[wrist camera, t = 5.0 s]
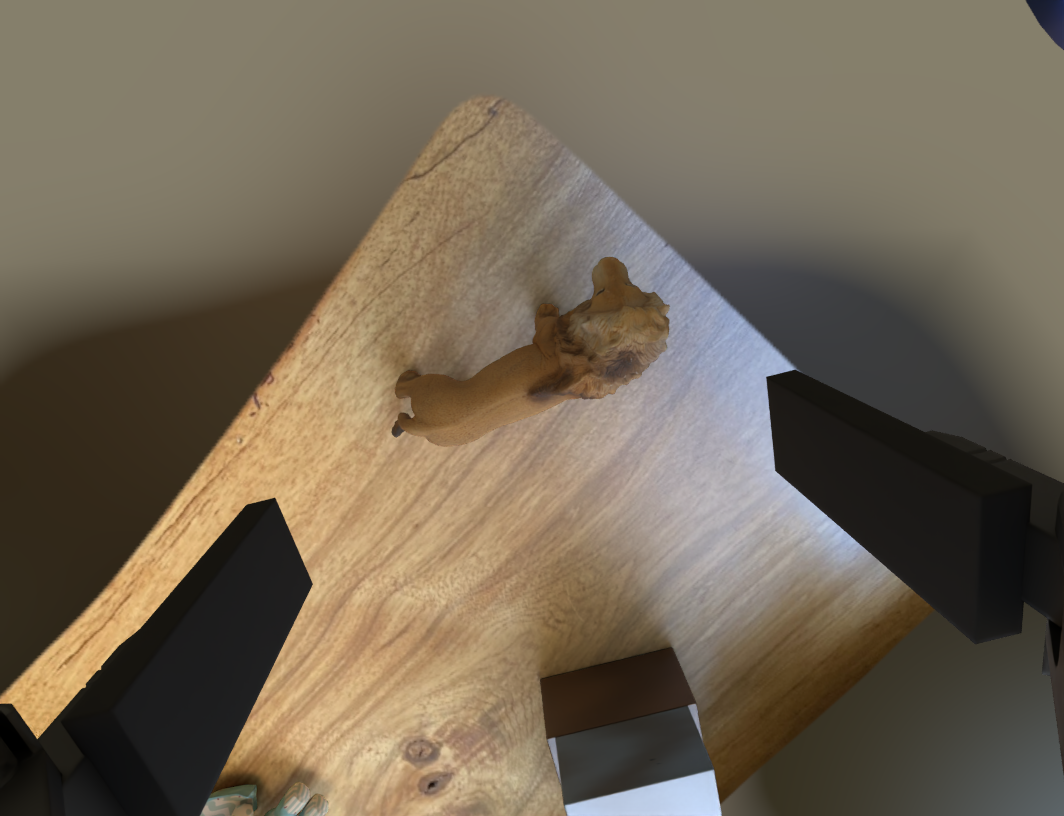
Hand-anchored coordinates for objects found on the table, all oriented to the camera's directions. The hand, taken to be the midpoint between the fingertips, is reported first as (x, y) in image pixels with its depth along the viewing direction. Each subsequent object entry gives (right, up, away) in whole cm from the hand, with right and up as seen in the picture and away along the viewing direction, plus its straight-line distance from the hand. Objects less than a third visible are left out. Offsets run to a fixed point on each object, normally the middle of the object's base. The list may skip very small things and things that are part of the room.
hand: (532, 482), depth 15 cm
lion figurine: (-1, +5, +15) cm, 16 cm away
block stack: (+6, -20, +24) cm, 32 cm away
